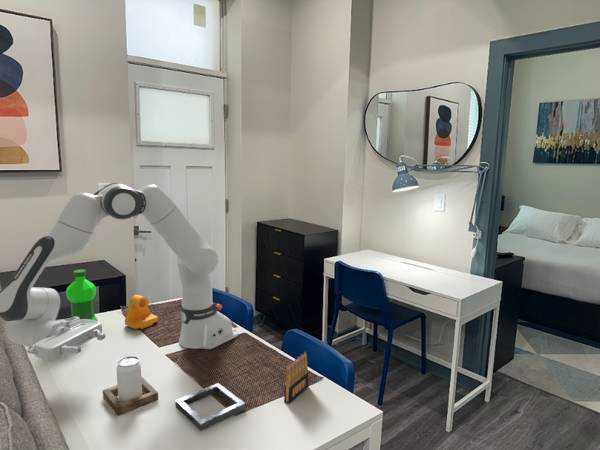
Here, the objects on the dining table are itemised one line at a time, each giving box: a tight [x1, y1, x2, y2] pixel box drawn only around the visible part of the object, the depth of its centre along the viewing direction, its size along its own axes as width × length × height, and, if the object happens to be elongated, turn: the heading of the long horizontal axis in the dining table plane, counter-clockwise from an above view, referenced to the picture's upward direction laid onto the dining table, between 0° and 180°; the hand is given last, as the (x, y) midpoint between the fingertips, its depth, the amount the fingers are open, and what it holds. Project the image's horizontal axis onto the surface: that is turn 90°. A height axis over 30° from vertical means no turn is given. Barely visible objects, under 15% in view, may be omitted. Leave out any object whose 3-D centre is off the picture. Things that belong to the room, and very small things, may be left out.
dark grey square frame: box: [175, 382, 246, 432], centre depth 121 cm, size 14×14×2 cm
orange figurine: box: [124, 294, 159, 330], centre depth 175 cm, size 11×7×12 cm, turn 143°
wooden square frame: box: [102, 375, 159, 417], centre depth 124 cm, size 12×12×2 cm
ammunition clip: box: [283, 351, 309, 404], centre depth 127 cm, size 11×2×12 cm, turn 147°
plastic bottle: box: [65, 268, 99, 322], centre depth 165 cm, size 10×10×25 cm
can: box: [116, 355, 143, 403], centre depth 123 cm, size 6×6×12 cm
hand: (91, 343), depth 125 cm, fingers open, 8 cm apart
